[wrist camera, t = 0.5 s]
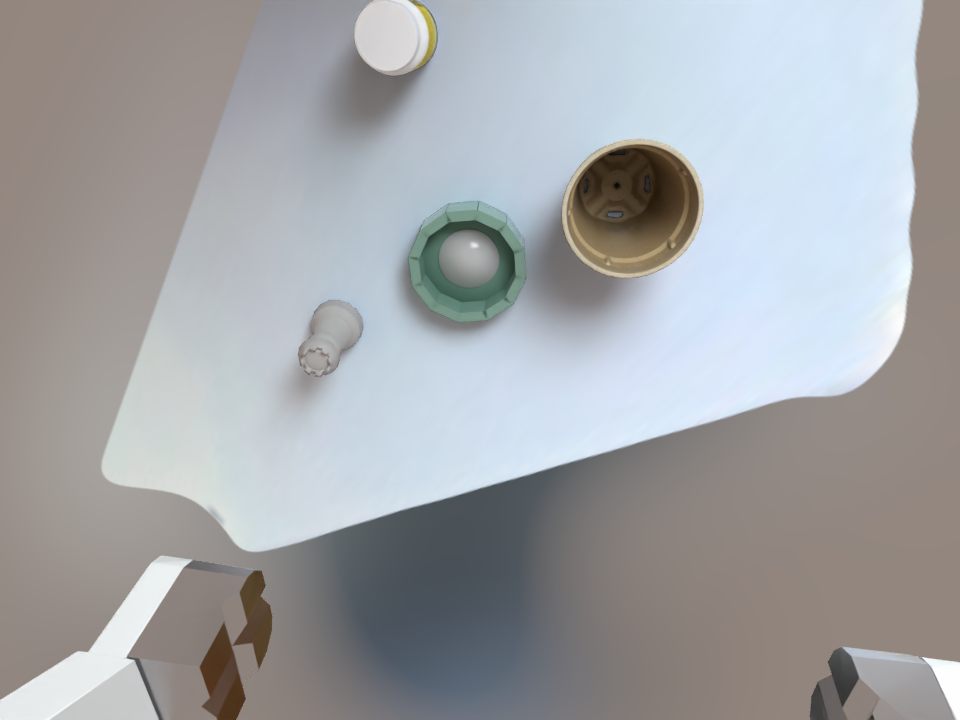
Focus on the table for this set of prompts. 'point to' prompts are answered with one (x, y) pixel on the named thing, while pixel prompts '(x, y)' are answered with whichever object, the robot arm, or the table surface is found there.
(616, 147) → the flower pot
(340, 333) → the rook chess piece
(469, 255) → the bowl
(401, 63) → the supplement bottle
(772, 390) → the table surface
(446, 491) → the table surface
